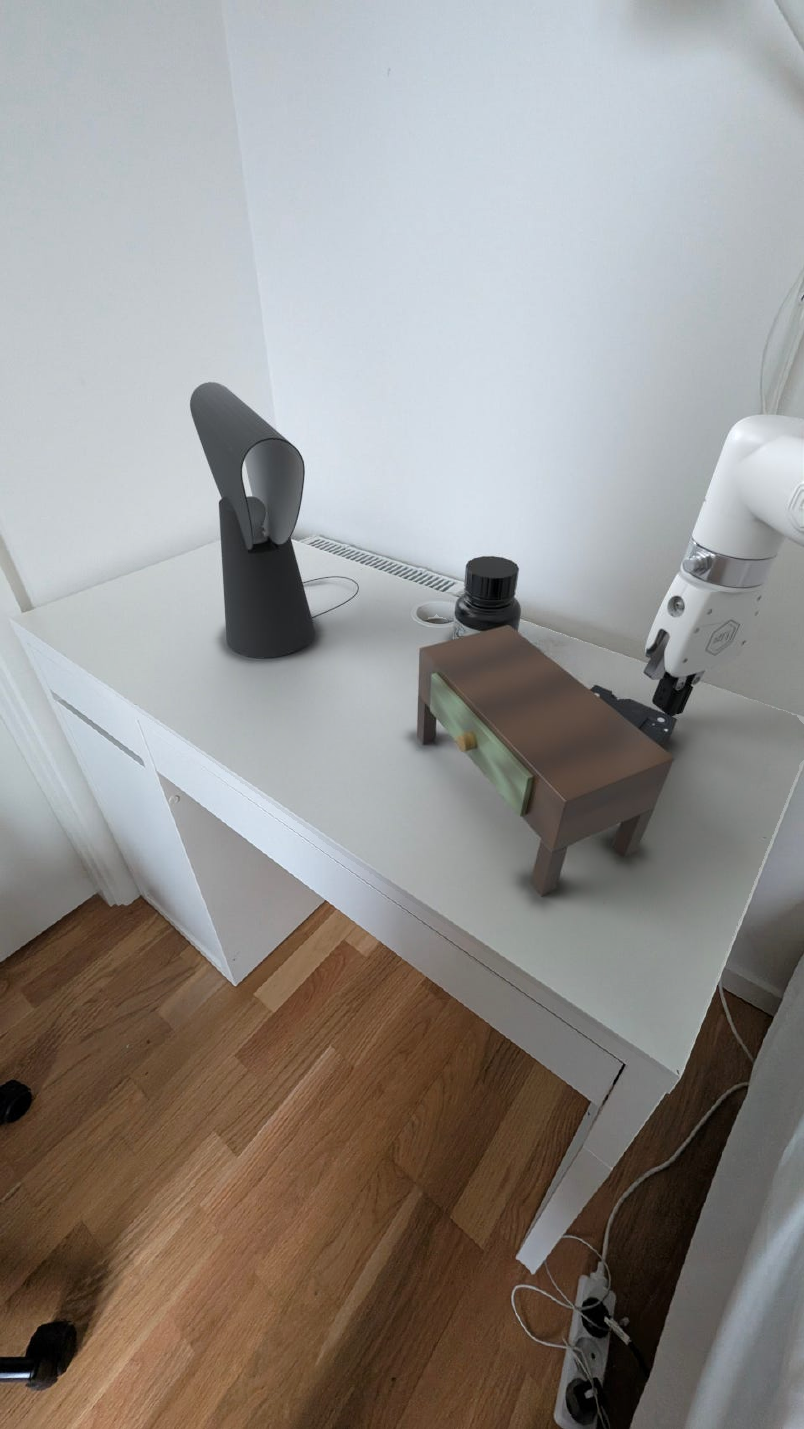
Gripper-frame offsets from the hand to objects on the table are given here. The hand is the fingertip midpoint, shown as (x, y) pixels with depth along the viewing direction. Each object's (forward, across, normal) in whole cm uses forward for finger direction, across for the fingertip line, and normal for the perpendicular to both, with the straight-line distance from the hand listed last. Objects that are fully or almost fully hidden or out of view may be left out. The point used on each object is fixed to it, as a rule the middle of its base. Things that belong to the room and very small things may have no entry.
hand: (666, 707), depth 67 cm
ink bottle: (+3, -10, +24) cm, 26 cm away
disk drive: (+3, -9, -1) cm, 10 cm away
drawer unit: (+2, -22, -2) cm, 22 cm away
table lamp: (+4, -34, +45) cm, 57 cm away
